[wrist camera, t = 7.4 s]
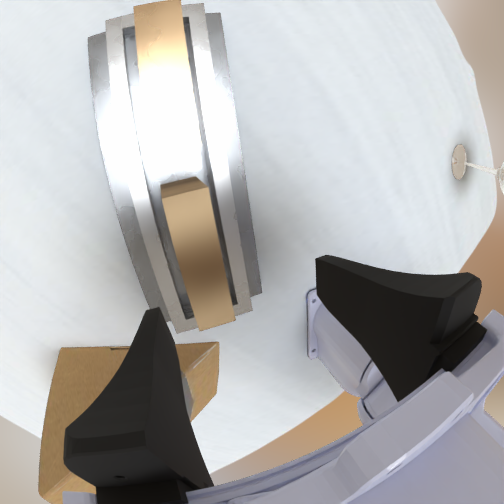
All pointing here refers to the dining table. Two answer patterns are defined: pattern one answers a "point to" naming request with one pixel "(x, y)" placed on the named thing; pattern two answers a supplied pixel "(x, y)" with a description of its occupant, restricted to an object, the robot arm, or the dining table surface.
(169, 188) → the tan rectangular block
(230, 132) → the track
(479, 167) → the wineglass
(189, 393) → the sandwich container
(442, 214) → the dining table surface
